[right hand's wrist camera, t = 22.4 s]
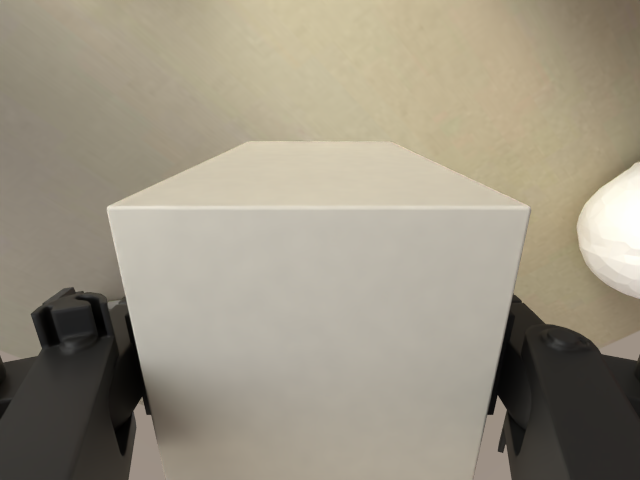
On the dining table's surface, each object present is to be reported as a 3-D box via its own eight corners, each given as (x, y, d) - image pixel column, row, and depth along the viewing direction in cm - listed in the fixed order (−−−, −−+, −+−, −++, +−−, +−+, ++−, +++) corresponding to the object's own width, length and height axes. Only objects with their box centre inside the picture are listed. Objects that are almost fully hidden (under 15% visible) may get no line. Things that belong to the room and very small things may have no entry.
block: (381, 292, 19) (462, 535, 8) (257, 292, 19) (175, 535, 8) (392, 140, 16) (534, 205, 6) (247, 141, 16) (104, 205, 6)
